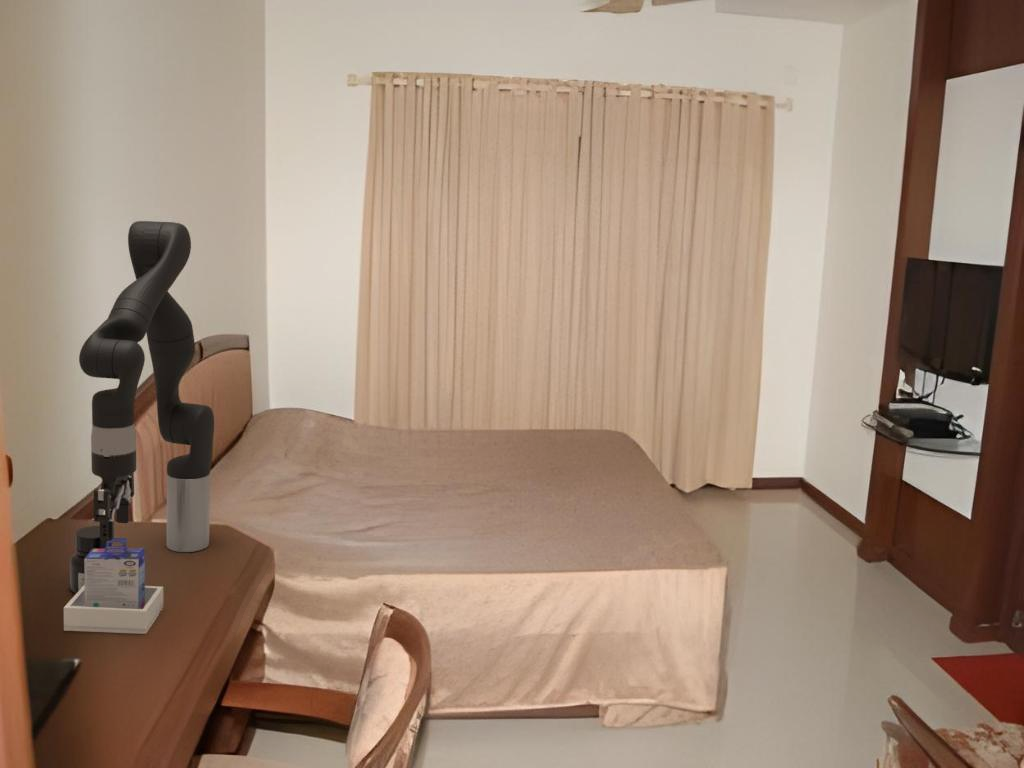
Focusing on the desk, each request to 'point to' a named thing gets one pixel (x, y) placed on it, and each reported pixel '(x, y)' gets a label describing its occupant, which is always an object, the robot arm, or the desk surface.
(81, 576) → the ink bottle
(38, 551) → the desk surface
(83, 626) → the tray
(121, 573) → the ink cartridge box
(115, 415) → the robot arm
